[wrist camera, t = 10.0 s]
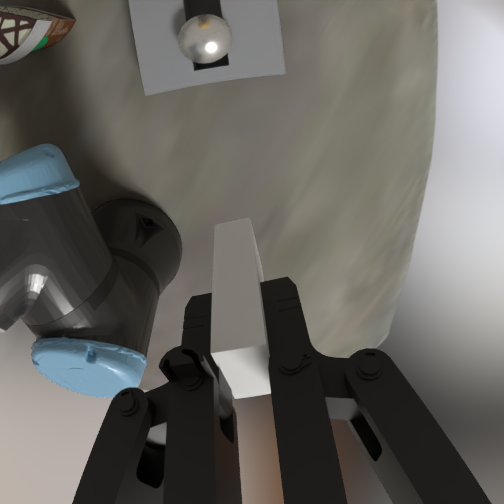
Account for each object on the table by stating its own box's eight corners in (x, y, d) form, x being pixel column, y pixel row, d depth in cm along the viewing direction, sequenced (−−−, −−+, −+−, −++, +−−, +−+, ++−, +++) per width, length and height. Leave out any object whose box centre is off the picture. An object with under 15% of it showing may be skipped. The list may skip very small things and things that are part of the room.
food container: (1, 46, 25) (-48, 56, 16) (17, 5, 22) (-31, 5, 13) (65, 67, 29) (20, 79, 21) (85, 22, 26) (41, 20, 18)
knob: (191, 65, 29) (182, 67, 24) (184, 24, 26) (174, 20, 22) (235, 57, 29) (235, 59, 24) (230, 17, 26) (229, 10, 21)
